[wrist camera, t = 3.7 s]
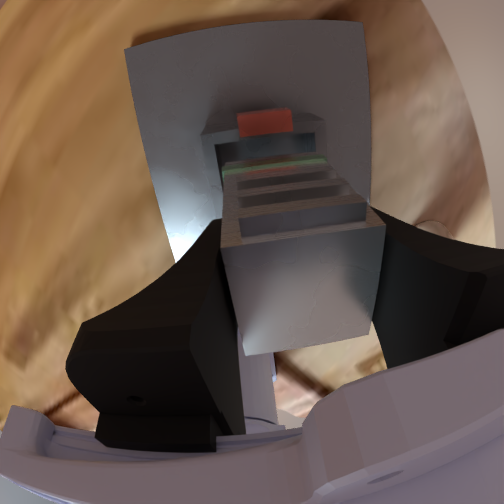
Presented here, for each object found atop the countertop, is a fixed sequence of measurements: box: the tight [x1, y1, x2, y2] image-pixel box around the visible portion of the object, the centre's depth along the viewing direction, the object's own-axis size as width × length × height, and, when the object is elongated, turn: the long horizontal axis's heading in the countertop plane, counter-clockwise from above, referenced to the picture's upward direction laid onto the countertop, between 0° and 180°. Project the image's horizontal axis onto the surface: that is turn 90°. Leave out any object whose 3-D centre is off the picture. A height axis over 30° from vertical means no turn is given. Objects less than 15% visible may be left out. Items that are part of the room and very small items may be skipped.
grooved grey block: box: [221, 152, 386, 356], centre depth 11 cm, size 5×4×7 cm
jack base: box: [124, 20, 371, 262], centre depth 16 cm, size 18×14×5 cm
